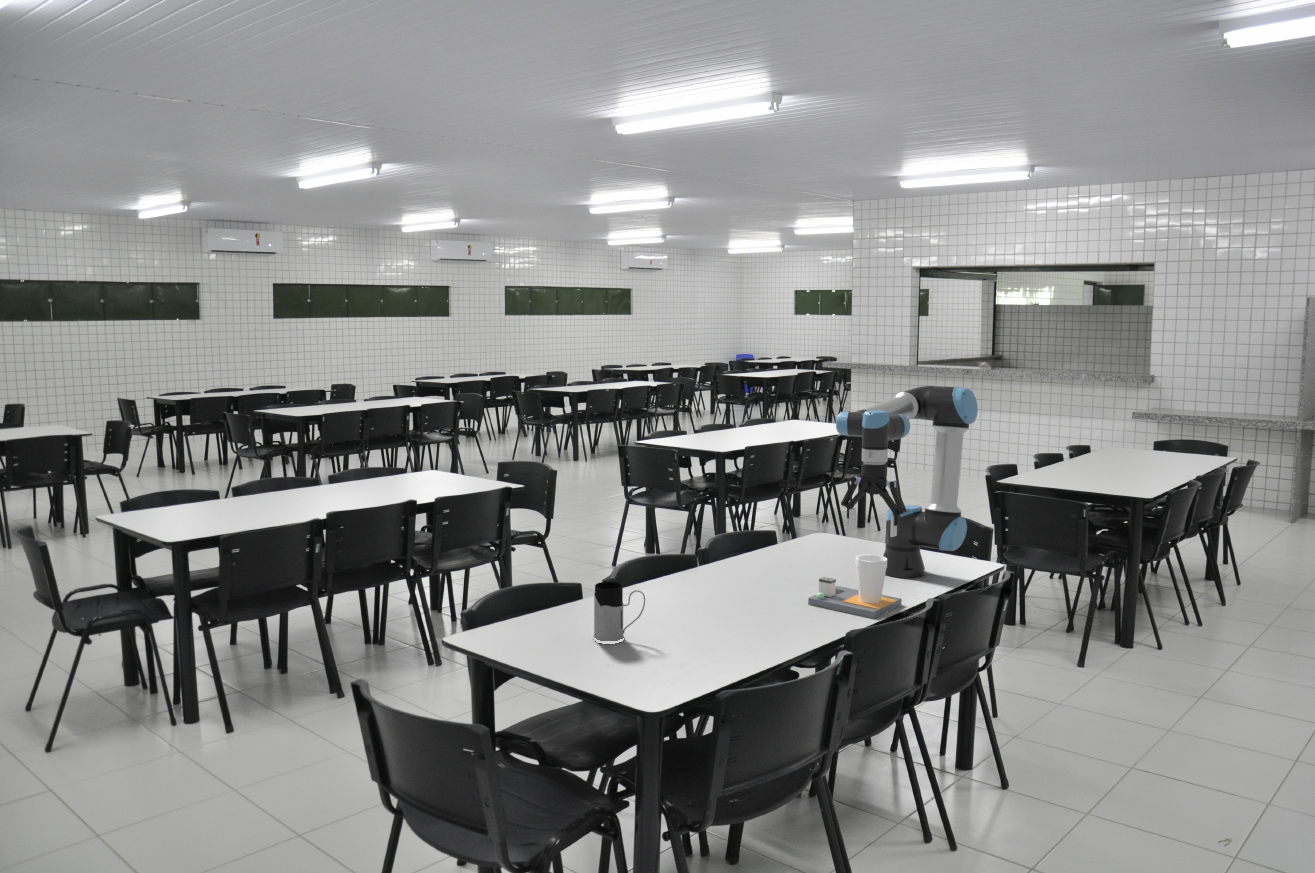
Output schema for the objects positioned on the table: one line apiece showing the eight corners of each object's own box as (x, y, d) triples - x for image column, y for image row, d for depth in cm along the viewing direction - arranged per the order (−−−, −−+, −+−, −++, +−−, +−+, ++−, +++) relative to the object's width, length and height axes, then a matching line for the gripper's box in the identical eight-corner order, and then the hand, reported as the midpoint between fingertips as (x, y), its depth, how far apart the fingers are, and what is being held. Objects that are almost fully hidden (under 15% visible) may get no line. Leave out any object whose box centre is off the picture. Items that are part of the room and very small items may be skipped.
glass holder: (594, 633, 266) (594, 580, 264) (645, 634, 265) (645, 581, 263) (590, 644, 257) (590, 589, 255) (644, 645, 256) (644, 590, 255)
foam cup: (886, 605, 285) (887, 562, 284) (854, 603, 287) (855, 561, 286) (885, 596, 295) (886, 555, 293) (854, 594, 297) (855, 553, 295)
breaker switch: (823, 592, 299) (824, 576, 299) (835, 594, 297) (835, 579, 296) (818, 594, 297) (819, 578, 297) (830, 597, 295) (830, 581, 294)
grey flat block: (837, 591, 308) (837, 581, 308) (901, 604, 294) (901, 593, 294) (808, 604, 295) (808, 593, 294) (873, 618, 281) (874, 606, 280)
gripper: (830, 460, 291) (829, 529, 294) (908, 468, 275) (905, 541, 278) (843, 457, 297) (841, 525, 299) (919, 465, 281) (917, 536, 284)
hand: (872, 533), depth 289 cm, fingers open, 13 cm apart
